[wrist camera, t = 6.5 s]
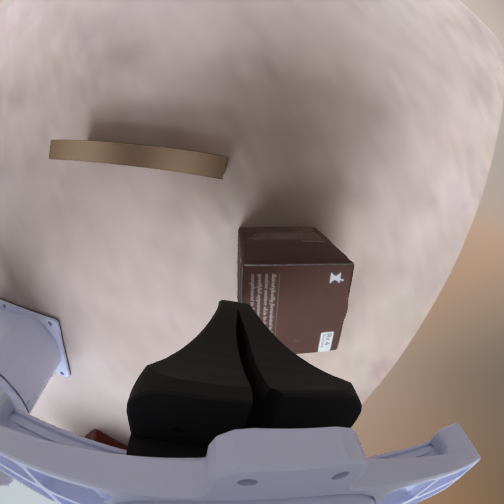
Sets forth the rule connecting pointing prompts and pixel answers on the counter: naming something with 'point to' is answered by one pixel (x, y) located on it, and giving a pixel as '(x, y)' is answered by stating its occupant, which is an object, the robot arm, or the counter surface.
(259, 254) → the box
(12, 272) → the counter surface
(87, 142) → the walnut screen
